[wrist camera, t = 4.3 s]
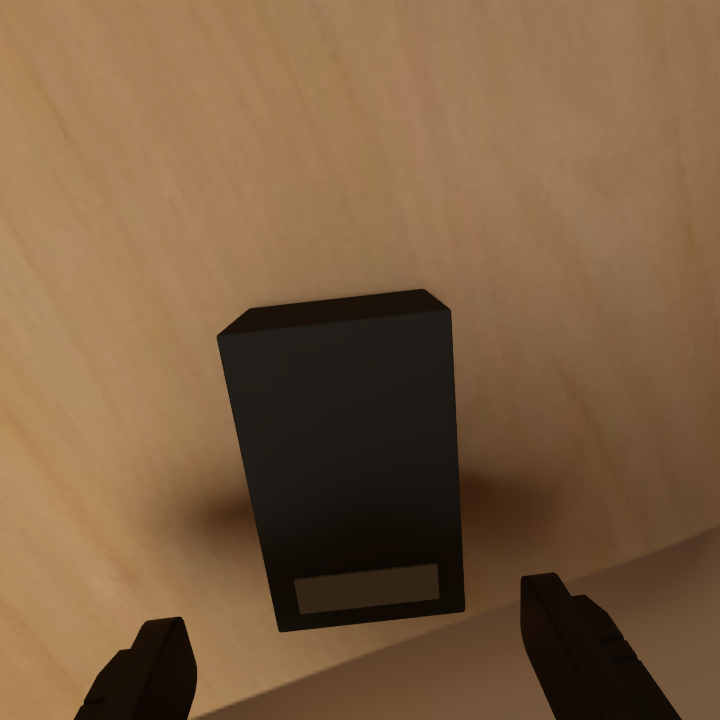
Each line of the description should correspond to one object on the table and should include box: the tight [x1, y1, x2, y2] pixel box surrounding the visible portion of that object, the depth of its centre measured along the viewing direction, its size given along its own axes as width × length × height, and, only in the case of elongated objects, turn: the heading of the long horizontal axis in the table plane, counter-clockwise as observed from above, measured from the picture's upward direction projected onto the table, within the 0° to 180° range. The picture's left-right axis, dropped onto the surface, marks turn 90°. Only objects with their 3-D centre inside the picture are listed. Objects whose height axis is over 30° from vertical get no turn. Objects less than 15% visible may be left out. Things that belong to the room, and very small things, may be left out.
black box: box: [217, 289, 465, 632], centre depth 13 cm, size 6×9×4 cm, turn 6°
